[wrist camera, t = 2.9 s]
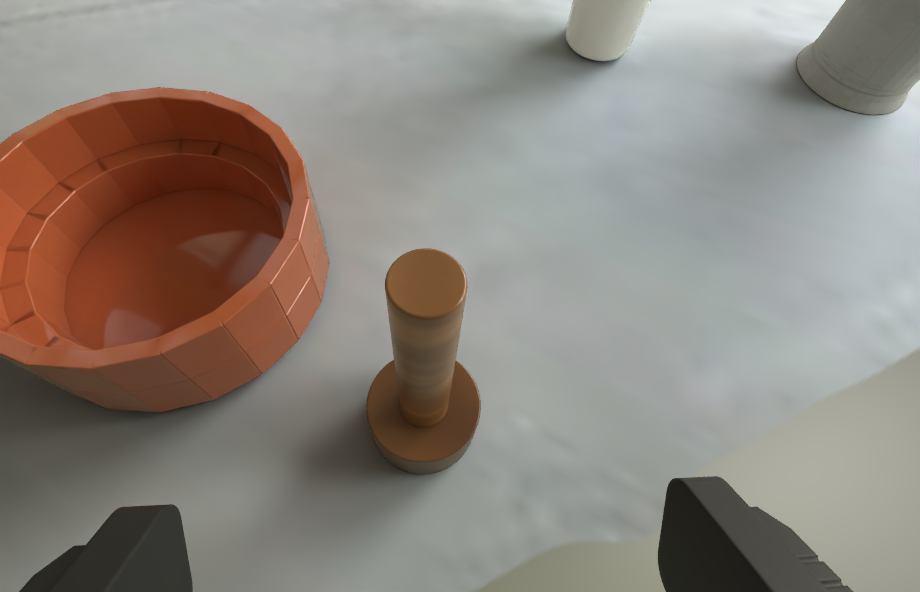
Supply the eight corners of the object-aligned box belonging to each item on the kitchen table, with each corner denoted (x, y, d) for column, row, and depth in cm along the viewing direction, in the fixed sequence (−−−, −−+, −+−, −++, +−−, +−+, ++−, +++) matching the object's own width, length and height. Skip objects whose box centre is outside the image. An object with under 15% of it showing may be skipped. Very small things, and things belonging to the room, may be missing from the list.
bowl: (78, 478, 23) (-32, 447, 18) (5, 238, 29) (-96, 156, 23) (378, 319, 28) (367, 255, 23) (264, 140, 34) (233, 53, 28)
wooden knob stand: (405, 496, 24) (388, 414, 12) (353, 404, 26) (293, 252, 14) (494, 436, 26) (562, 310, 13) (439, 354, 28) (455, 179, 15)
